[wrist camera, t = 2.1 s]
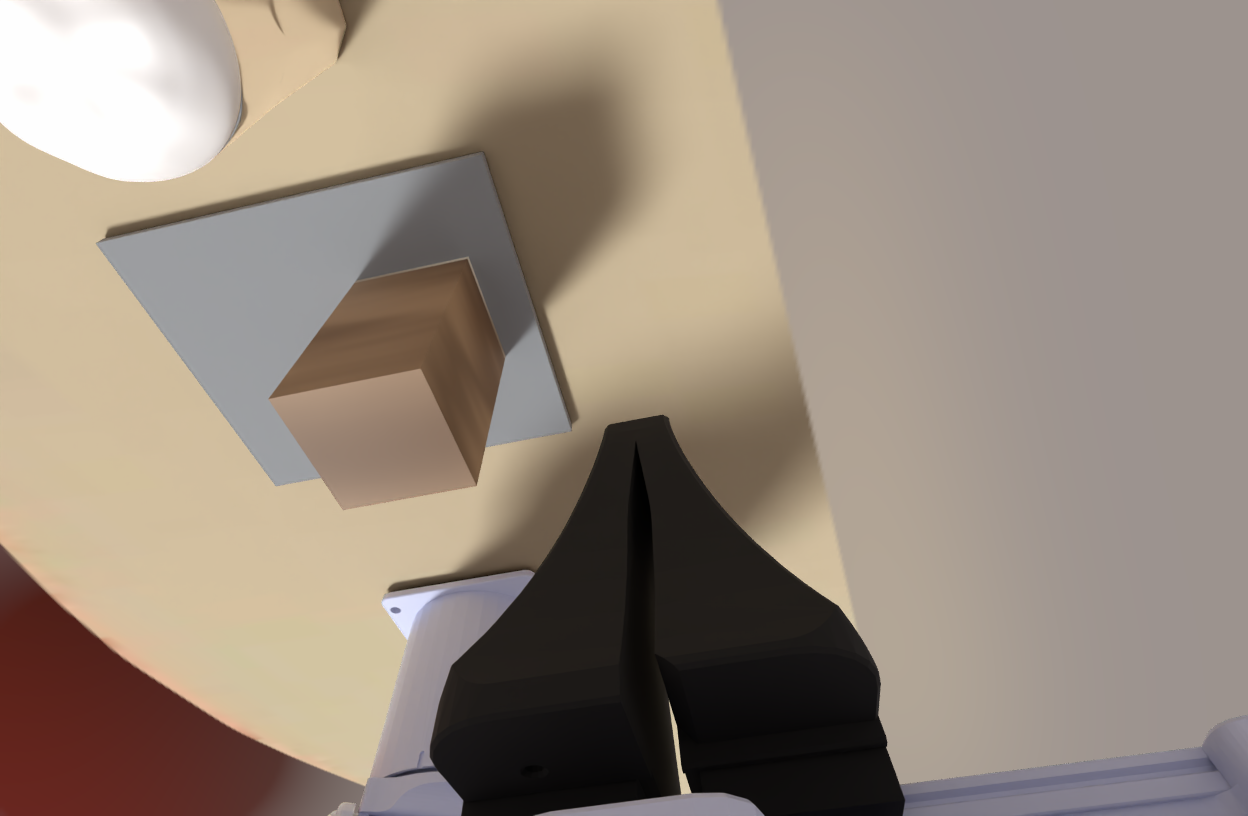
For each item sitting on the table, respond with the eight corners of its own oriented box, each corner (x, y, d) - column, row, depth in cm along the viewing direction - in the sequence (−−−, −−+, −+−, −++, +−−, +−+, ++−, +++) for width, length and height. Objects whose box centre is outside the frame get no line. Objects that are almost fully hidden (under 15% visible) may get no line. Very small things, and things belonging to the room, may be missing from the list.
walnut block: (505, 356, 23) (476, 485, 17) (404, 376, 23) (342, 510, 18) (468, 256, 21) (420, 368, 15) (356, 280, 21) (268, 399, 15)
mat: (571, 425, 26) (571, 431, 25) (279, 479, 27) (275, 486, 26) (483, 151, 19) (481, 154, 19) (103, 238, 20) (95, 243, 20)
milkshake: (324, -151, 15) (5, -280, 7) (393, 93, 18) (229, 201, 10) (140, -130, 15) (-388, -233, 7) (240, 110, 18) (-44, 230, 10)
